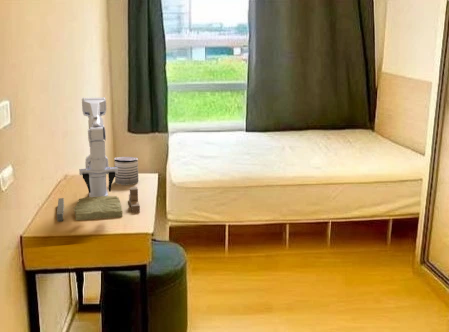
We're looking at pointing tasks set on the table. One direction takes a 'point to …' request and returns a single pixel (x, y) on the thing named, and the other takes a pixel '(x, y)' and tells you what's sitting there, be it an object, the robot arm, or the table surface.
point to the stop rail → (60, 209)
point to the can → (126, 170)
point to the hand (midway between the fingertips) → (99, 191)
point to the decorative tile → (98, 208)
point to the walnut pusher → (134, 200)
